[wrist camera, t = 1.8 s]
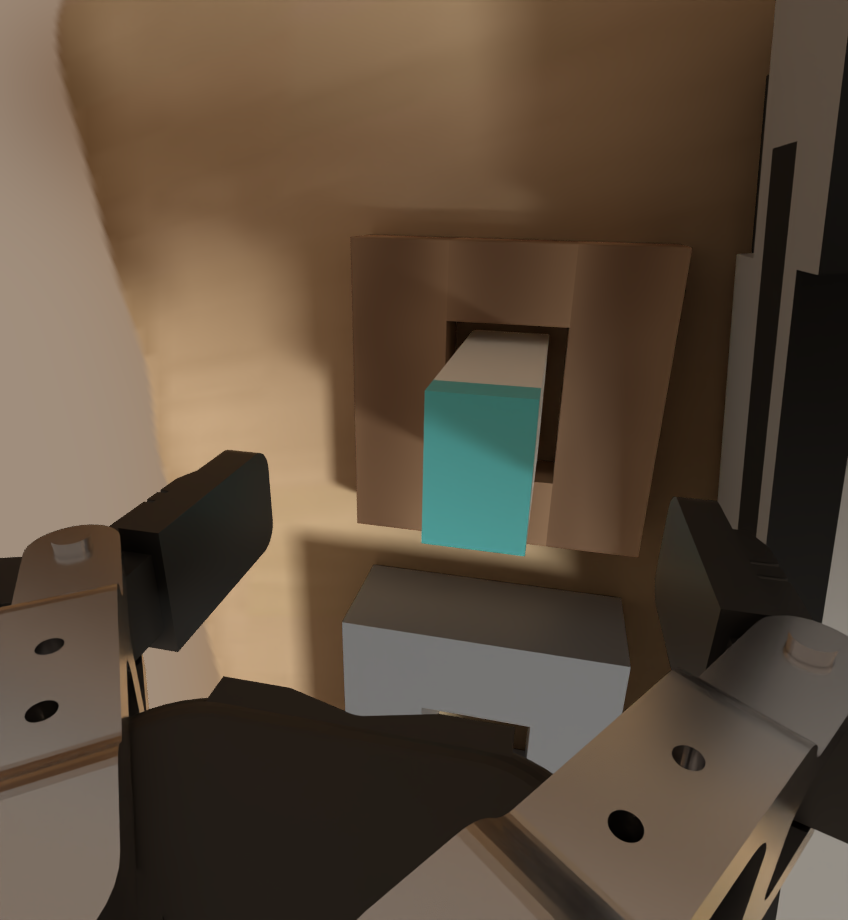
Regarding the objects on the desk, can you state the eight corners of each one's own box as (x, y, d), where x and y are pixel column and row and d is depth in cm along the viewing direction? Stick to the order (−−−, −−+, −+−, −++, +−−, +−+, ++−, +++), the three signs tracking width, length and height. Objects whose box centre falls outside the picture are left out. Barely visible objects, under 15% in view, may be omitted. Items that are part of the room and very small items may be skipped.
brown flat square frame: (680, 244, 19) (692, 247, 17) (632, 530, 23) (638, 557, 21) (369, 234, 21) (350, 237, 19) (372, 500, 25) (357, 523, 23)
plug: (549, 334, 21) (539, 399, 14) (538, 444, 22) (524, 556, 15) (473, 329, 21) (424, 390, 14) (468, 437, 23) (421, 543, 16)
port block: (621, 597, 24) (630, 667, 20) (584, 816, 28) (586, 904, 25) (373, 564, 26) (342, 622, 22) (376, 774, 30) (350, 850, 27)
